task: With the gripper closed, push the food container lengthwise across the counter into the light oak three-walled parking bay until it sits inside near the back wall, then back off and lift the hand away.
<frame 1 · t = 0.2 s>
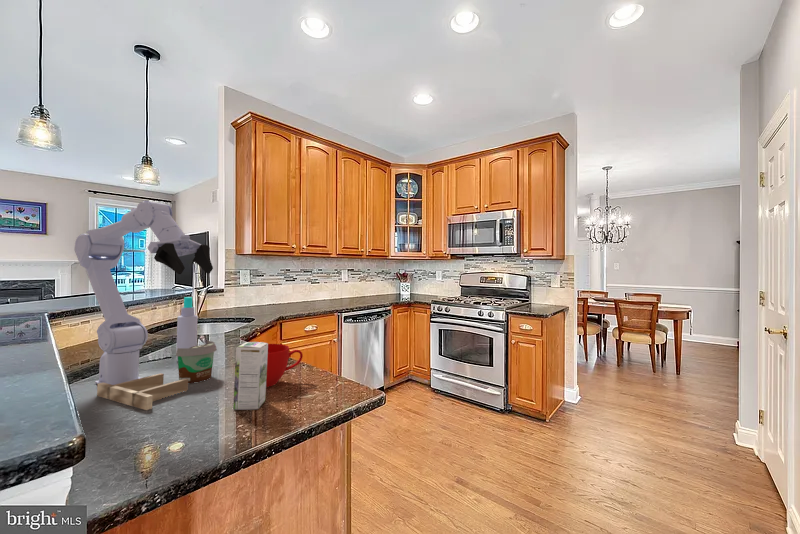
hand: (196, 271, 88), 32 cm above the counter, tool tilted 50°, fingers open, 7 cm apart
ceramic cup: (271, 383, 101), on the counter
parking bay: (150, 394, 90), on the counter
syrup box: (250, 406, 84), on the counter
food container: (201, 380, 103), on the counter
spray bottle: (186, 360, 123), on the counter
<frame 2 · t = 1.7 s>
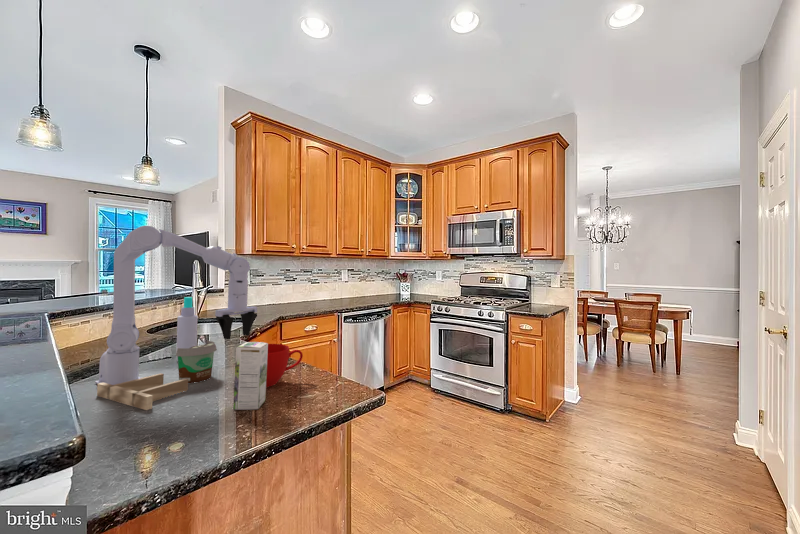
hand: (236, 336, 114), 10 cm above the counter, tool pointing down, fingers open, 7 cm apart
nothing on the counter moved.
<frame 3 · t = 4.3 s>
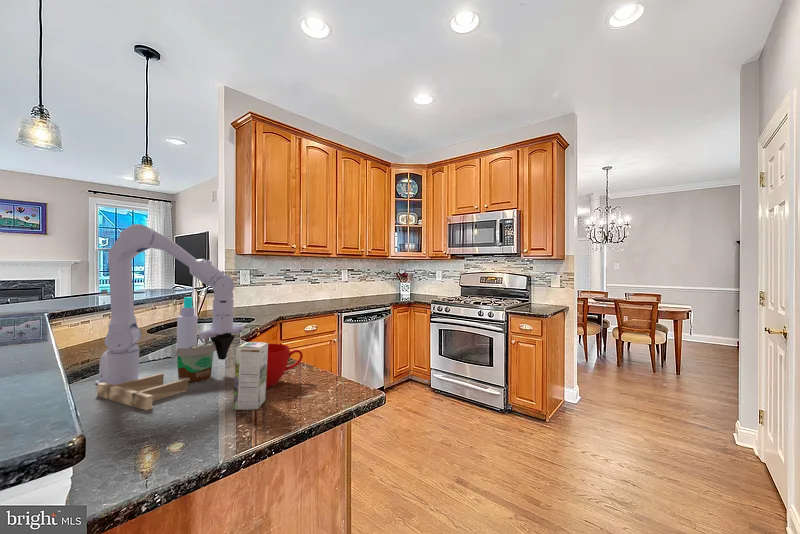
hand: (222, 359, 109), 4 cm above the counter, tool pointing down, fingers closed
food container: (200, 380, 102), on the counter, touching gripper
everything else where it was.
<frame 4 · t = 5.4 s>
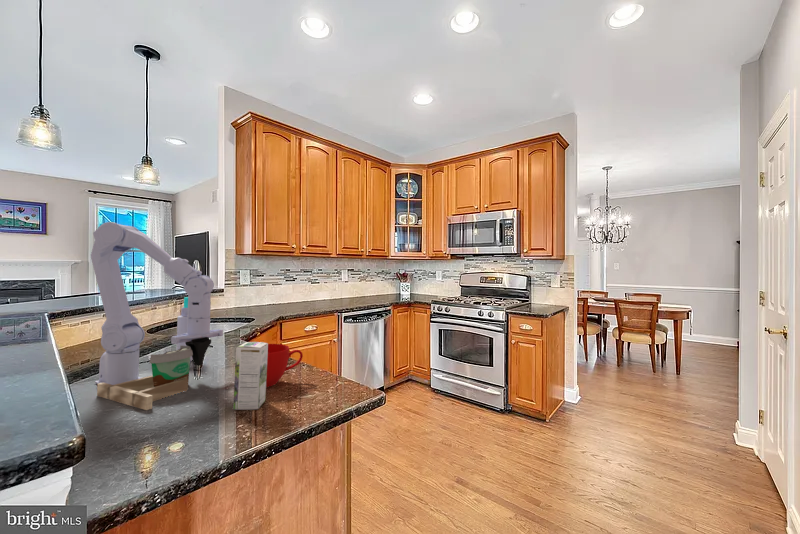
hand: (197, 365, 101), 4 cm above the counter, tool pointing down, fingers closed
food container: (178, 387, 95), on the counter, touching gripper
everything else where it was.
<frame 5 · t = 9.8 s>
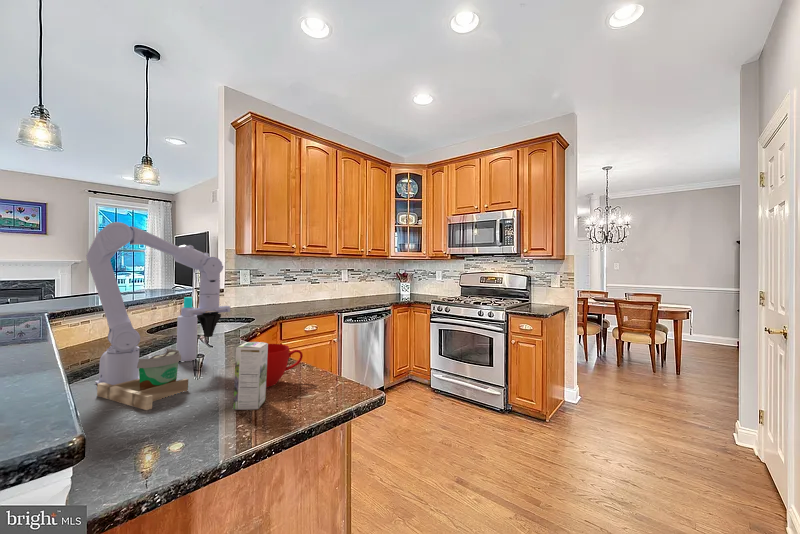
hand: (208, 336, 113), 10 cm above the counter, tool pointing down, fingers closed
food container: (164, 393, 91), resting in parking bay
everything else where it was.
at the end: food container 2.4 cm from the target spot on the parking bay, point 0.0 cm above the parking bay's base; food container tilted 0°; food container moved 11.8 cm from its start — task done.
